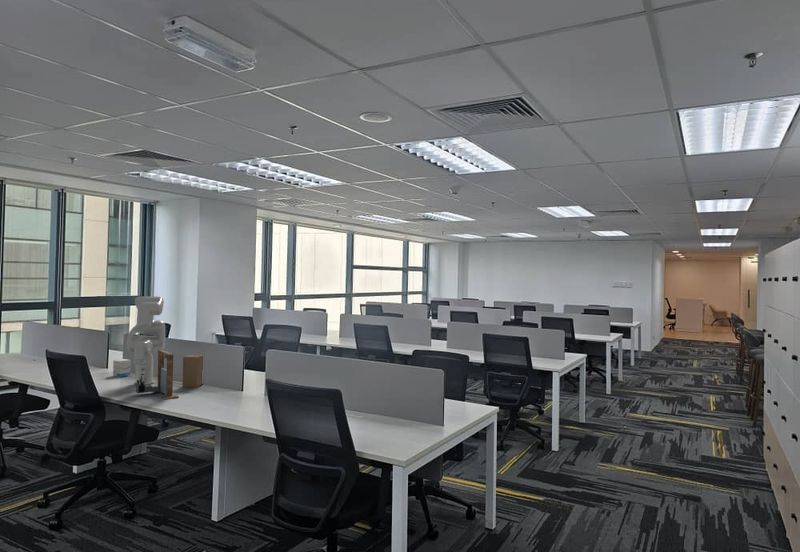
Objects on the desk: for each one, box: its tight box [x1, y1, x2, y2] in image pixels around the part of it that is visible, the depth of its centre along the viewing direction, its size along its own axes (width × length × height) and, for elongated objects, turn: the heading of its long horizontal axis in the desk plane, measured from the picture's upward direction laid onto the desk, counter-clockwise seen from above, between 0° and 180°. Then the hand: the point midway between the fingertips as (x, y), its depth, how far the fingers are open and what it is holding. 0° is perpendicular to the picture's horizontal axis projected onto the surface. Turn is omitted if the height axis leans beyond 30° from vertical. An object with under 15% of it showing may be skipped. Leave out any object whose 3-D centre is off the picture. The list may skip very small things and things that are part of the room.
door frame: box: [155, 349, 180, 400], centre depth 334 cm, size 31×8×26 cm, turn 38°
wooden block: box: [182, 354, 204, 388], centre depth 360 cm, size 10×10×20 cm
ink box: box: [112, 358, 132, 378], centre depth 389 cm, size 9×8×12 cm
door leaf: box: [159, 367, 167, 395], centre depth 334 cm, size 18×2×15 cm, turn 38°
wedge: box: [135, 383, 160, 394], centre depth 332 cm, size 6×12×5 cm, turn 128°
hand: (140, 390), depth 330 cm, fingers closed on wedge, 6 cm apart
